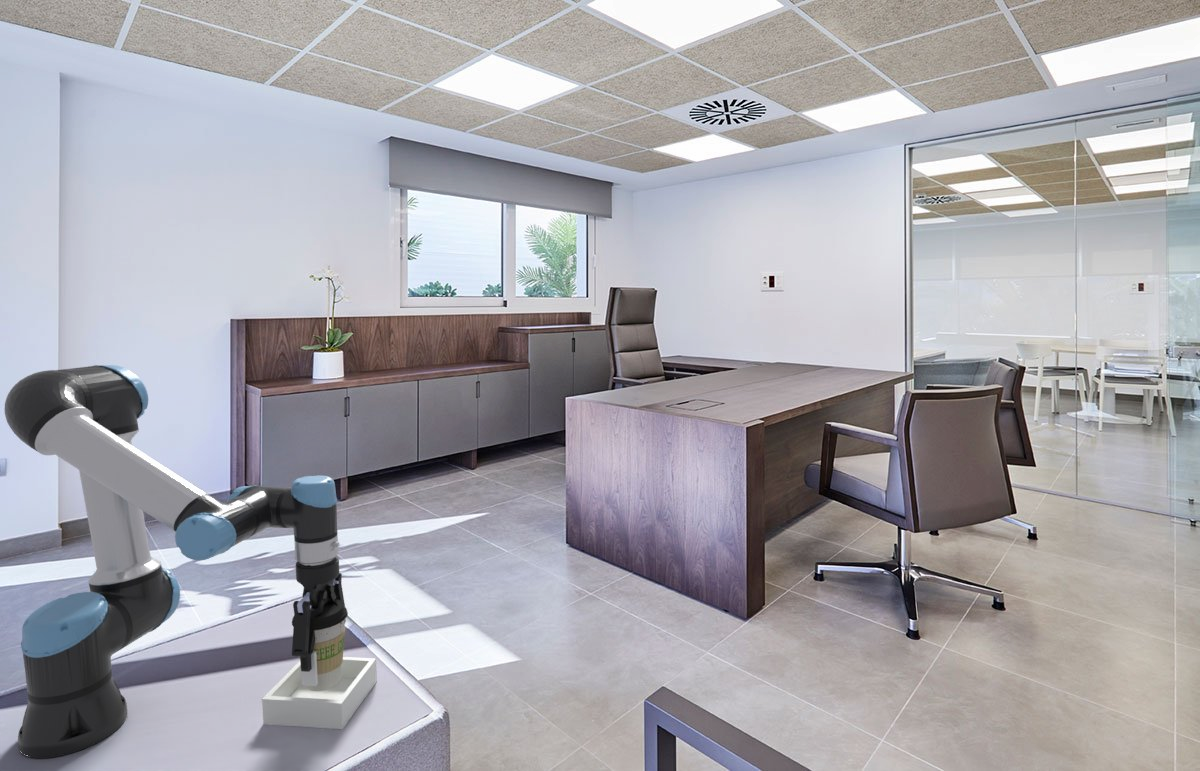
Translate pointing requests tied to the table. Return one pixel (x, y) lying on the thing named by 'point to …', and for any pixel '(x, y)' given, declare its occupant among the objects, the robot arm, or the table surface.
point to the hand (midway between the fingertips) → (322, 670)
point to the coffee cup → (328, 644)
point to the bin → (320, 697)
